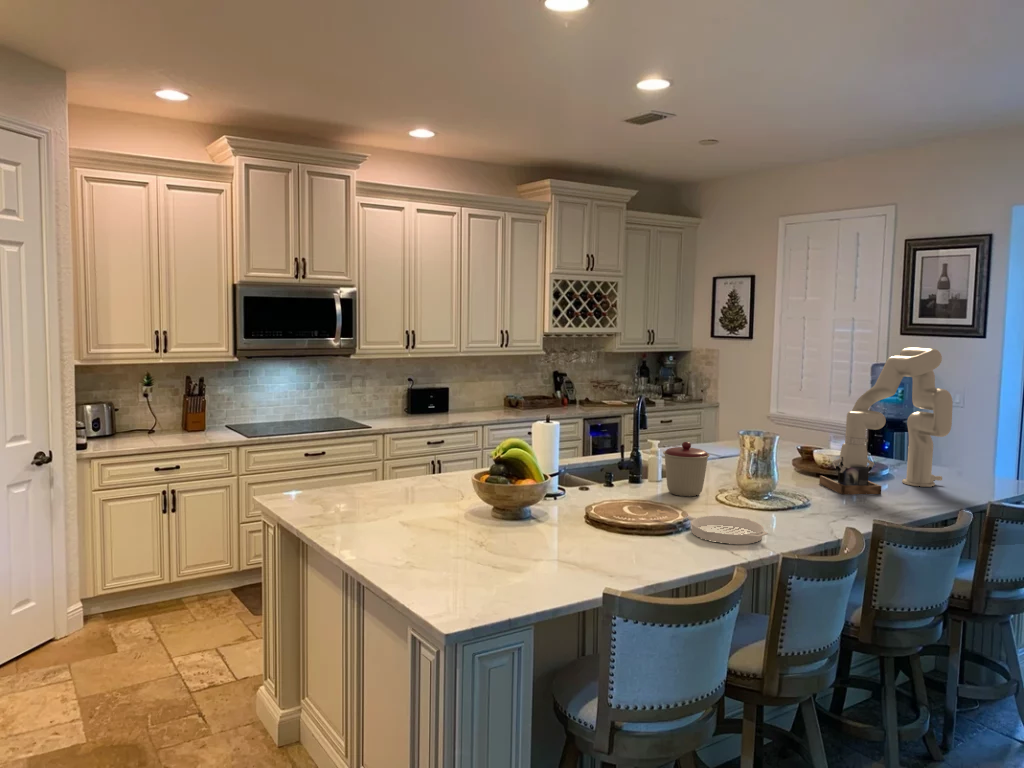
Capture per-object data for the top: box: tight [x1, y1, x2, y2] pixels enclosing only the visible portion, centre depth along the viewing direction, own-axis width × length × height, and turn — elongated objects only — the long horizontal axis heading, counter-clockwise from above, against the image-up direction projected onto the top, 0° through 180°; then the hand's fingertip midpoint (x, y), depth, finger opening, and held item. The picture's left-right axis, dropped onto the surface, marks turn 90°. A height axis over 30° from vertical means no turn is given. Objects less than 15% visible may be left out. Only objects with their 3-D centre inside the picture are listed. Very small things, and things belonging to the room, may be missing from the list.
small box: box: [837, 464, 870, 486], centre depth 322 cm, size 11×6×10 cm, turn 24°
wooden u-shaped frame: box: [819, 475, 882, 495], centre depth 324 cm, size 16×20×4 cm
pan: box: [686, 515, 768, 545], centre depth 257 cm, size 24×41×4 cm, turn 42°
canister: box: [662, 441, 710, 497], centre depth 309 cm, size 18×18×21 cm
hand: (852, 481), depth 322 cm, fingers open, 9 cm apart
